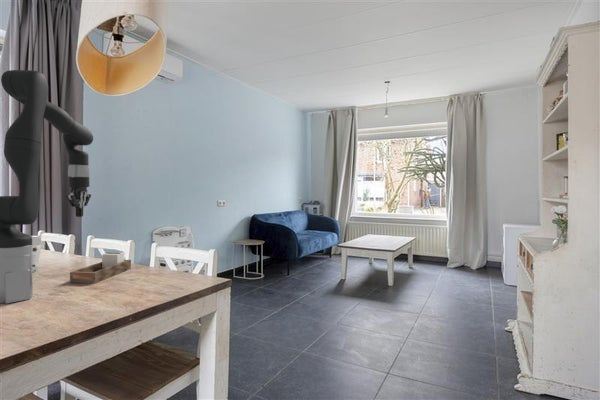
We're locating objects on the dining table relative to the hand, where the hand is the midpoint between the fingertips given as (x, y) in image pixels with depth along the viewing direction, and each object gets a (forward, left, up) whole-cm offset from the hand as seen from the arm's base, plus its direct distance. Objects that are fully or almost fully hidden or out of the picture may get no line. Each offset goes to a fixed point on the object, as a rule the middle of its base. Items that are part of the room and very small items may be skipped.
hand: (79, 216), depth 142 cm
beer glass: (+17, +13, -24) cm, 32 cm away
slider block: (-8, -10, -22) cm, 26 cm away
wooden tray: (-12, -4, -24) cm, 27 cm away
